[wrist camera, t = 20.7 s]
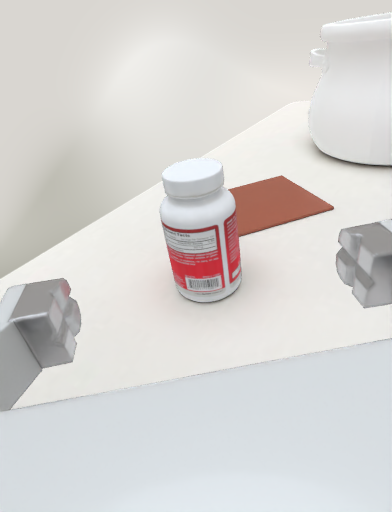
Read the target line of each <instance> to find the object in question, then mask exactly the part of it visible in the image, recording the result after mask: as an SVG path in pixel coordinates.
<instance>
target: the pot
mask: <svg viewBox="0 0 392 512" xmlns="http://www.w3.org/2000/svg"><path fill="white" fill-rule="evenodd" d="M320 37H321V40H322V41H324V42H327V49H314V50H312V51H311V54H310V61H309V66H311V67H321V68H322V75H321V78H320V80H319V83H318V85H317V87H316V89H315V91H314V94H313V97H312V100H311V105H310V109H309V130H310V133H311V137H312V139H313V141H314V143H315V144H316V145H317V147H318V148H319V149H320V150H321V151H322V152H324V153H326V154H328V155H330V156H332V157H335V158H338V159H341V160H345V161H350V162H355V163H361V164H370V165H392V12H390V13H383V14H377V15H371V16H365V17H359V18H353V19H348V20H343V21H338V22H333V23H329V24H325V25H323V27H322V29H321V31H320Z"/></svg>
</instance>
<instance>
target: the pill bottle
mask: <svg viewBox="0 0 392 512" xmlns="http://www.w3.org/2000/svg"><path fill="white" fill-rule="evenodd" d="M162 180H163V185H164V189H165V193H166V194H167V196H166V197H165V198H164V200H163V201H162V203H161V206H160V217H161V222H162V226H163V231H164V235H165V240H166V244H167V248H168V253H169V257H170V262H171V266H172V270H173V275H174V279H175V283H176V286H177V289H178V291H179V292H180V293H181V294H182V295H183V296H184V297H186V298H188V299H190V300H193V301H197V302H211V301H216V300H220V299H222V298H225V297H227V296H228V295H230V294H232V293H233V292H234V291H235V290H236V289H237V288H238V286H239V284H240V282H241V262H240V249H239V237H238V226H237V214H236V205H235V199H234V197H233V195H232V194H231V192H230V191H229V190H227V189H226V188H224V187H222V186H223V184H224V174H223V166H222V164H221V162H219V161H218V160H215V159H209V158H196V159H190V160H185V161H181V162H178V163H175V164H173V165H171V166H169V167H167V168H166V169H165V170H164V171H163V172H162Z"/></svg>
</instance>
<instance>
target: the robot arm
mask: <svg viewBox="0 0 392 512" xmlns="http://www.w3.org/2000/svg"><path fill="white" fill-rule="evenodd" d="M338 242H339V243H340V245H341V246H342V248H341V249H340V250H339V252H338V253H337V254H336V267H337V272H338V274H339V277H340V278H341V280H342V281H343V282H344V284H346V285H349V286H351V287H353V290H352V294H353V295H354V296H355V298H356V299H357V300H358V301H359V303H360V304H361V305H362V306H363V308H369V307H376V306H382V305H388V304H392V219H388V220H384V221H379V222H375V223H371V224H365V225H360V226H355V227H350V228H345V229H341V231H340V233H339V239H338ZM70 291H71V288H70V286H69V284H68V282H67V280H65V279H64V278H60V279H54V280H48V281H41V282H35V283H29V284H22V285H17V286H12V287H10V288H8V289H7V291H6V293H5V294H4V296H3V298H2V300H1V302H0V512H392V338H390V339H385V340H380V341H374V342H369V343H364V344H358V345H353V346H347V347H342V348H337V349H331V350H326V351H321V352H315V353H310V354H304V355H299V356H294V357H288V358H283V359H278V360H272V361H267V362H262V363H257V364H251V365H246V366H241V367H235V368H230V369H225V370H219V371H214V372H209V373H204V374H198V375H193V376H188V377H182V378H177V379H172V380H167V381H161V382H156V383H151V384H145V385H140V386H135V387H129V388H124V389H119V390H113V391H108V392H103V393H97V394H92V395H87V396H81V397H76V398H71V399H65V400H60V401H55V402H49V403H44V404H39V405H33V406H28V407H23V408H17V409H12V410H10V409H11V408H12V407H13V405H14V404H15V403H16V402H17V400H18V399H19V398H20V397H21V396H22V394H23V393H24V392H25V391H26V389H27V388H28V387H29V386H30V385H31V383H32V382H33V381H34V380H35V378H36V377H37V376H38V375H39V374H40V372H41V371H42V369H43V368H47V367H52V366H57V365H61V364H66V363H71V362H73V358H74V354H75V349H76V345H77V343H76V341H75V339H74V337H75V336H76V335H77V334H78V333H79V332H80V327H81V314H80V310H79V307H78V304H77V302H76V301H75V300H74V299H72V298H71V297H69V295H70Z"/></svg>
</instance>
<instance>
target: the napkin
mask: <svg viewBox="0 0 392 512" xmlns="http://www.w3.org/2000/svg"><path fill="white" fill-rule="evenodd" d="M228 190H229V191H230V192H231V194H232V195H233V197H234V199H235V205H236V214H237V226H238V237H239V236H242V235H246V234H249V233H253V232H256V231H260V230H263V229H266V228H270V227H273V226H277V225H280V224H284V223H287V222H290V221H294V220H297V219H301V218H304V217H308V216H311V215H314V214H318V213H321V212H325V211H328V210H332V209H334V207H333V206H332V205H330V204H328V203H327V202H325V201H323V200H322V199H320V198H318V197H317V196H315V195H313V194H312V193H310V192H308V191H307V190H305V189H303V188H302V187H300V186H298V185H297V184H295V183H293V182H292V181H290V180H288V179H287V178H285V177H283V176H278V177H274V178H270V179H267V180H263V181H259V182H255V183H251V184H247V185H244V186H240V187H236V188H232V189H228Z"/></svg>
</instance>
